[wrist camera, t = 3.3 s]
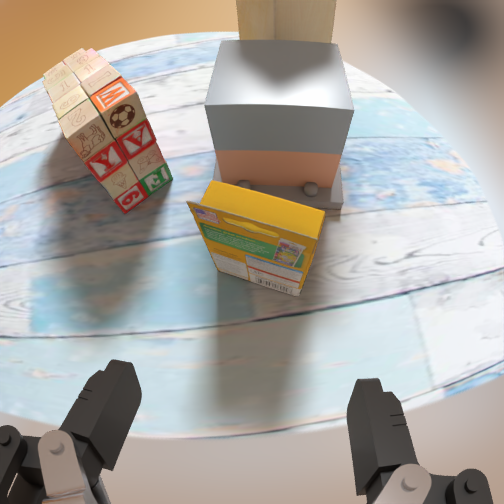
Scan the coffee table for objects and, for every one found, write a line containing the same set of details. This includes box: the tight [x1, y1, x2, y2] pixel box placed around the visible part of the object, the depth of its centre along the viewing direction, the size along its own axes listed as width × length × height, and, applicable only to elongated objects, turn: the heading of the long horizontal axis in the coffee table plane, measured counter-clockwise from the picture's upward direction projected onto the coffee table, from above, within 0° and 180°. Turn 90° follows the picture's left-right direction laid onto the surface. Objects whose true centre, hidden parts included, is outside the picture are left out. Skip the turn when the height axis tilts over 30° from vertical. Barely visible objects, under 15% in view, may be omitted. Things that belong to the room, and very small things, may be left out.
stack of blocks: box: [43, 48, 173, 214], centre depth 28 cm, size 21×6×12 cm, turn 38°
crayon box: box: [186, 180, 326, 296], centre depth 21 cm, size 7×3×12 cm, turn 70°
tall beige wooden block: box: [236, 0, 336, 43], centre depth 25 cm, size 8×7×21 cm
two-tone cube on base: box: [205, 40, 354, 209], centre depth 26 cm, size 12×12×11 cm
